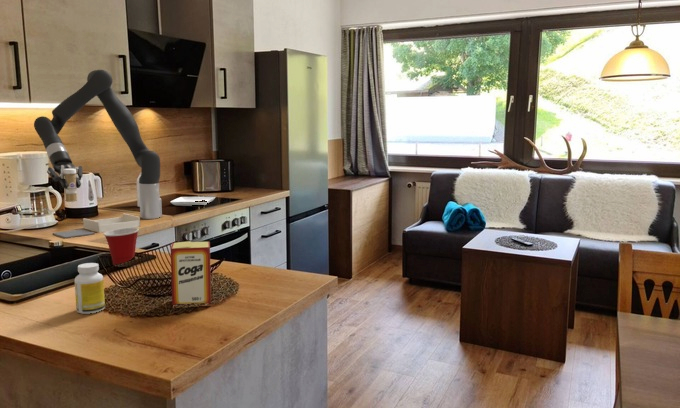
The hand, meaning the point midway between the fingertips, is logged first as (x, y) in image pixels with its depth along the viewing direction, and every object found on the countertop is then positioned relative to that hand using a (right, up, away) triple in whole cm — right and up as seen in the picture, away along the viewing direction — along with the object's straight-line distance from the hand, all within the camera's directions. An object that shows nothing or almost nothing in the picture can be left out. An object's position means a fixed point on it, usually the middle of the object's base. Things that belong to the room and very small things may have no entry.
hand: (72, 187), depth 217 cm
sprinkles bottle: (-2, -6, +2) cm, 7 cm away
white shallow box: (+8, -17, +20) cm, 27 cm away
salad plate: (+24, -7, +93) cm, 97 cm away
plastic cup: (+39, -27, -44) cm, 65 cm away
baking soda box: (+71, -33, -79) cm, 112 cm away
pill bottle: (+48, -34, -85) cm, 103 cm away
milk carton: (+1, -8, +81) cm, 82 cm away
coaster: (-2, -20, +4) cm, 20 cm away
